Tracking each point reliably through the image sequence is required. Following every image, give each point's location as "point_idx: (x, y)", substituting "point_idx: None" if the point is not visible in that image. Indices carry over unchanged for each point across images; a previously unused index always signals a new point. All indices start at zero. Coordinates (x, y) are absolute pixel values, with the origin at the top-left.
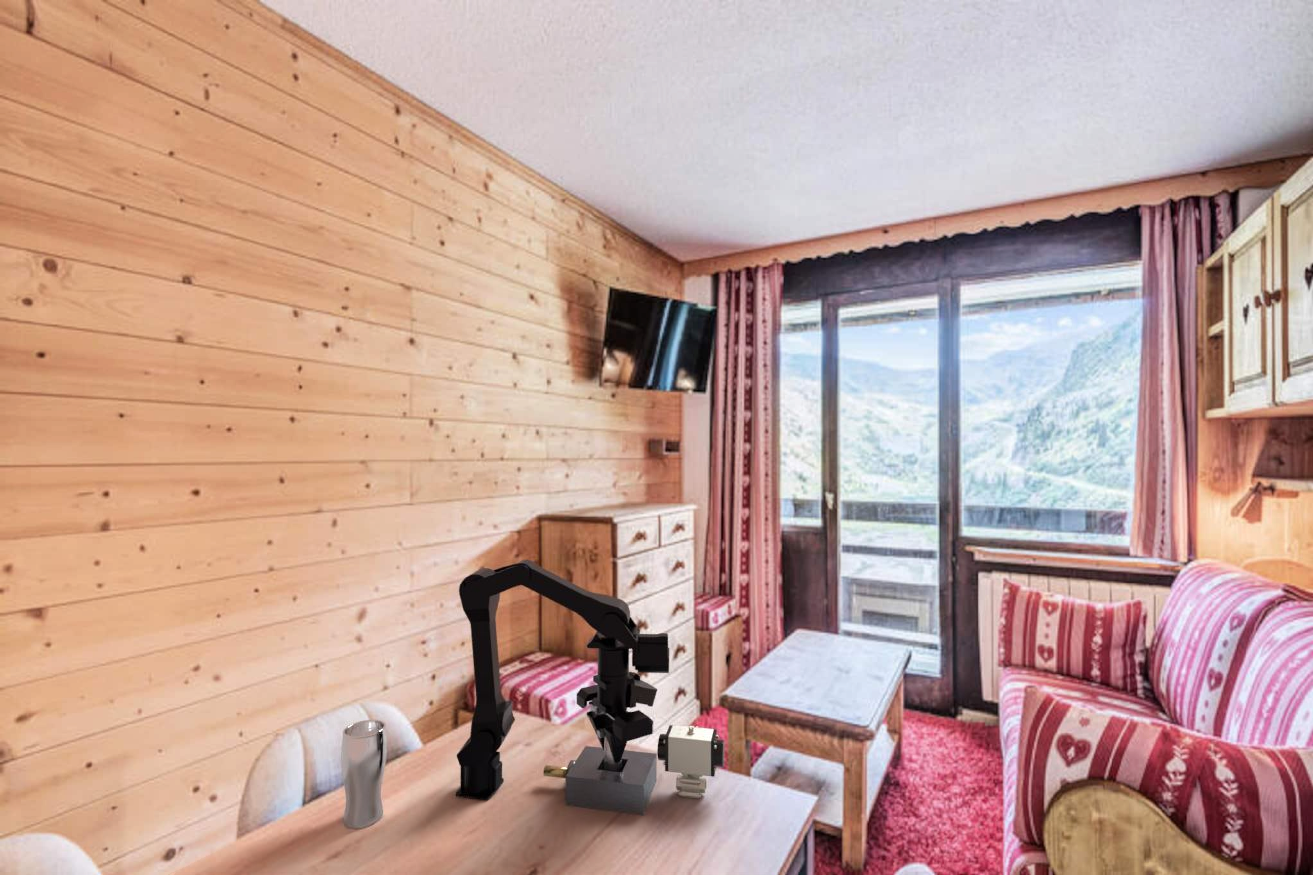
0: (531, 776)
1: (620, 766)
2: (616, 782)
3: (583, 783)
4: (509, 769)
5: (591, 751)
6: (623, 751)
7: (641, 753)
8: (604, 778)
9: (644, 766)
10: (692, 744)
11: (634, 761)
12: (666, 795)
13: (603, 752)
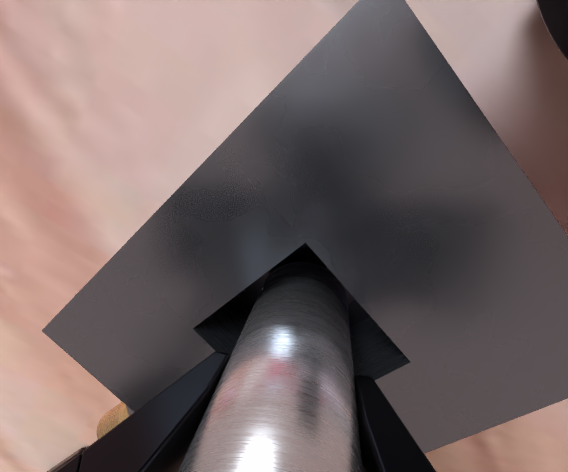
0: (89, 391)
1: (346, 327)
2: (471, 434)
3: None
4: (33, 408)
5: (107, 340)
6: (424, 456)
7: (293, 105)
8: None
9: (472, 211)
10: None
11: (359, 227)
12: (506, 90)
13: (145, 303)
